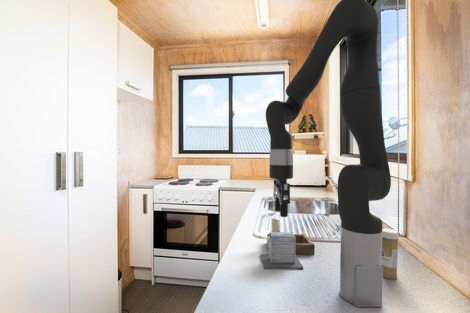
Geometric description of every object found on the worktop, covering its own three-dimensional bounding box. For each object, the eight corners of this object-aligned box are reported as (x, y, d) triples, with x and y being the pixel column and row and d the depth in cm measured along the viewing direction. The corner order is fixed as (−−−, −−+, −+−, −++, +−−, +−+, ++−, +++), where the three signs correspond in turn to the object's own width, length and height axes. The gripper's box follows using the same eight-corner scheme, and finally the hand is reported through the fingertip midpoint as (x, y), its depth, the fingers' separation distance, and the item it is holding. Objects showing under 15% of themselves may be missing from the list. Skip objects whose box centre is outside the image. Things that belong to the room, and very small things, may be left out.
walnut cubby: (314, 254, 92) (314, 244, 91) (271, 254, 91) (271, 244, 91) (305, 243, 103) (305, 234, 103) (267, 242, 103) (267, 233, 103)
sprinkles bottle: (375, 273, 78) (377, 228, 77) (386, 271, 79) (387, 227, 79) (390, 280, 73) (391, 233, 73) (401, 278, 75) (402, 231, 75)
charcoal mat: (303, 269, 80) (303, 267, 80) (264, 269, 80) (264, 267, 80) (295, 255, 90) (295, 254, 90) (260, 255, 90) (260, 254, 90)
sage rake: (281, 251, 94) (281, 221, 93) (269, 251, 93) (269, 221, 93) (277, 244, 101) (278, 216, 100) (266, 244, 100) (267, 216, 100)
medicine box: (292, 257, 87) (292, 232, 87) (295, 263, 83) (296, 236, 82) (268, 257, 87) (269, 231, 87) (270, 263, 83) (271, 236, 82)
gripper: (298, 164, 77) (298, 219, 77) (287, 163, 92) (287, 209, 92) (273, 164, 77) (273, 219, 77) (266, 163, 91) (266, 209, 91)
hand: (281, 213), depth 84 cm, fingers open, 8 cm apart
